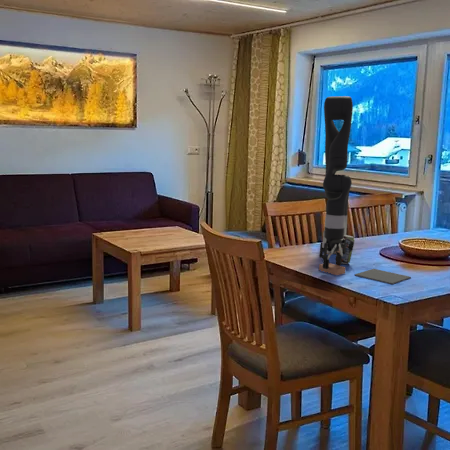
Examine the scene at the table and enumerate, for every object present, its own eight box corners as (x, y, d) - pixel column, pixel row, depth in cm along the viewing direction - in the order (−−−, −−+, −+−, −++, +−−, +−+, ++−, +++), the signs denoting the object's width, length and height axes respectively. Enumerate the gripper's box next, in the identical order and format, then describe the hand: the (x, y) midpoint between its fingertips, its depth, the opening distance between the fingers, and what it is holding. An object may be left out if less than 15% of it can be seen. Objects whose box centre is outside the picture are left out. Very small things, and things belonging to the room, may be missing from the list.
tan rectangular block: (318, 271, 227) (319, 264, 226) (327, 269, 230) (327, 262, 229) (336, 276, 220) (337, 269, 220) (345, 274, 223) (345, 267, 223)
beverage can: (332, 262, 241) (334, 234, 239) (347, 261, 244) (349, 233, 242) (340, 265, 235) (342, 236, 233) (355, 264, 238) (357, 236, 236)
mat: (354, 275, 220) (354, 274, 220) (373, 269, 230) (373, 268, 230) (392, 284, 209) (392, 283, 209) (410, 278, 219) (410, 276, 219)
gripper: (336, 223, 229) (334, 262, 232) (315, 226, 219) (313, 267, 222) (353, 225, 224) (350, 266, 227) (332, 229, 214) (329, 271, 217)
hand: (331, 266), depth 224 cm, fingers open, 8 cm apart
